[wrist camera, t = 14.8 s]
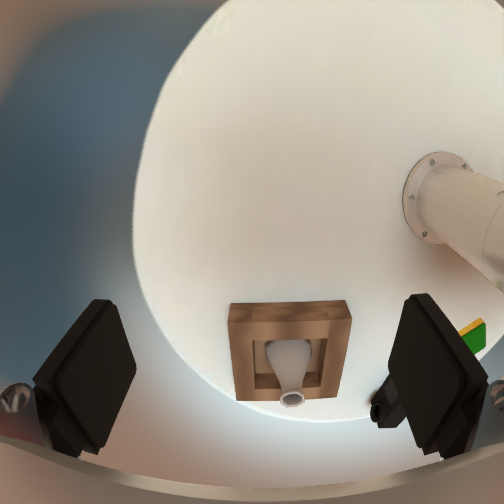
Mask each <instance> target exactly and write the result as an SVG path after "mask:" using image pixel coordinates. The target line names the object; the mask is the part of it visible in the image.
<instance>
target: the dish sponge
mask: <svg viewBox="0 0 504 504" xmlns="http://www.w3.org/2000/svg"><path fill="white" fill-rule="evenodd" d="M458 333H459V334H460V336H461V337H462V338H463V340H464V341H465V343H466V344H467V345H468V347H469V348H470V350H471V351H472V353H473V354H476V353H477V352H479V351H481V350H482V349H483V348H485V346H486V327H485V323H484V322H483V321H482V320H481V318H479V319H477V320H476V321H474V322H472V323H471V324H469V325H468V326H466V327H465V328H463V329H461V330H460V331H458Z"/></svg>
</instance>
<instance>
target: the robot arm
mask: <svg viewBox="0 0 504 504" xmlns="http://www.w3.org/2000/svg"><path fill="white" fill-rule="evenodd" d="M429 162H430V163H429ZM409 196H410V198H409ZM403 208H404V213H405V217H406V220H407V222H408V224H409V226H410V228H411V229H412V231H413V232H414V233H415V234H416V235H417V236H419V237H420V238H421V239H422V240H424V241H426V242H428V243H432V244H444V243H446V244H447V245H448V246H449V247H451V248H452V249H453V250H454V251H456V252H457V253H458V254H459V255H460V256H462V257H463V258H464V259H465V260H466V261H467V262H469V263H470V264H471V265H472V266H473V267H474V268H476V269H477V270H478V271H479V272H480V273H481V274H482V275H484V276H485V277H486V278H487V279H488V280H489V281H490V282H491V283H493V284H494V285H495V286H496V287H497V288H498V289H500V290H501V291H503V292H504V184H503V183H500V182H498V181H495V180H493V179H490V178H487V177H484V176H482V175H479V174H476V173H474V172H473V170H472V169H471V167H470V166H469V164H468V163H467V162H466V161H465V160H464V159H462V158H461V157H459V156H457V155H455V154H452V153H447V152H437V153H433V154H430V155H428V156H426V157H425V158H423V159H422V160H421V161H420V162H419V163H418V164H417V165H416V166H415V167H414V169H413V170H412V171H411V173H410V175H409V177H408V179H407V182H406V186H405V189H404V196H403ZM388 370H389V373H390V375H391V378H392V380H393V383H394V385H395V388H396V390H397V393H398V395H399V398H400V400H401V403H402V406H403V408H404V411H405V414H406V417H407V419H408V422H409V425H410V428H411V430H412V433H413V436H414V439H415V442H416V444H417V446H418V447H419V448H422V450H423V453H424V455H428V454H431V453H435V452H438V451H439V453H440V456H441V458H440V460H439V462H436V463H433V464H429V465H425V466H422V467H418V468H414V469H410V470H406V471H402V472H398V473H393V474H389V475H385V476H380V477H374V478H369V479H363V480H357V481H351V482H344V483H336V484H328V485H318V486H305V487H288V488H238V487H221V486H208V485H198V484H189V483H182V482H175V481H168V480H162V479H156V478H151V477H146V476H140V475H136V474H131V473H127V472H123V471H119V470H115V469H111V468H108V467H104V466H100V465H96V464H94V463H90V462H87V461H83V460H82V458H81V455H80V454H81V452H82V450H84V451H86V452H89V453H92V454H96V455H98V452H99V450H100V448H103V447H104V446H105V444H106V442H107V439H108V437H109V434H110V432H111V429H112V427H113V424H114V422H115V420H116V417H117V415H118V413H119V410H120V408H121V406H122V403H123V401H124V399H125V396H126V394H127V392H128V390H129V387H130V385H131V382H132V380H133V378H134V376H135V374H136V363H135V360H134V357H133V354H132V352H131V349H130V346H129V343H128V340H127V337H126V334H125V331H124V328H123V325H122V322H121V319H120V315H119V313H118V309H117V306H116V305H114V304H113V303H112V302H111V301H110V300H102V299H94V300H93V301H92V302H91V303H90V304H89V306H88V307H87V308H86V309H85V310H84V312H83V313H82V314H81V315H80V317H79V318H78V319H77V320H76V322H75V323H74V324H73V325H72V327H71V328H70V329H69V330H68V332H67V333H66V334H65V336H64V337H63V338H62V339H61V341H60V342H59V344H58V345H57V346H56V347H55V349H54V350H53V351H52V353H51V354H50V355H49V357H48V358H47V359H46V361H45V362H44V363H43V365H42V366H41V368H40V369H39V370H38V372H37V373H36V375H35V376H34V377H33V381H34V383H35V384H36V385H35V387H34V388H32V387H31V386H30V385H29V384H27V383H15V384H12V385H10V386H8V387H7V388H6V389H5V390H4V391H3V392H2V393H1V395H0V504H504V374H503V376H502V378H501V380H496V381H494V382H492V383H491V384H490V385H489V384H488V382H487V381H486V380H487V378H488V375H487V373H486V372H485V370H484V369H483V367H482V366H481V364H480V363H479V361H478V360H477V358H476V357H475V355H474V354H473V353H472V351H471V350H470V348H469V347H468V345H467V344H466V343H465V341H464V340H463V338H462V337H461V336H460V334H459V333H458V332H457V330H456V329H455V328H454V326H453V325H452V323H451V322H450V321H449V320H448V318H447V317H446V316H445V314H444V313H443V312H442V310H441V309H440V308H439V307H438V305H437V304H436V303H435V301H434V300H433V299H432V298H431V296H430V295H429V294H427V293H423V294H412V295H411V296H410V297H409V299H407V300H405V302H404V306H403V310H402V314H401V318H400V322H399V326H398V330H397V333H396V337H395V340H394V344H393V347H392V351H391V354H390V357H389V361H388Z"/></svg>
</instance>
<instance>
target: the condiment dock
mask: <svg viewBox="0 0 504 504" xmlns="http://www.w3.org/2000/svg"><path fill="white" fill-rule="evenodd" d="M227 323H228V332H229V341H230V350H231V359H232V367H233V376H234V384H235V392H236V400H237V401H280V395H281V394H282V389H281V385H280V382H279V380H278V378H277V376H276V374H275V372H274V370H273V369H272V367H271V365H270V364H269V362H268V360H267V357H266V352H265V347H264V345H265V344H266V343H267V342H269V341H270V340H298V339H308V340H309V341H310V342H311V348H312V357H311V360H310V363H309V365H308V368H307V370H306V373H305V376H304V379H303V382H302V390H301V391H302V393H303V394H304V399H305V400H306V399H321V398H333V397H337V393H338V389H339V385H340V380H341V376H342V371H343V366H344V361H345V356H346V351H347V346H348V341H349V335H350V329H351V323H352V317H351V314H350V312H349V309H348V307H347V304H346V302H345V300H339V301H316V302H286V303H231V306H230V311H229V317H228V322H227Z"/></svg>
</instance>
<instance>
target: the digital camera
mask: <svg viewBox="0 0 504 504" xmlns="http://www.w3.org/2000/svg"><path fill="white" fill-rule="evenodd" d="M371 404H372V407H371V411H370V416H371V419H372V421H373V422H377V425H378V428H396V427H397V426H398V425H399V424H400V423H401V422H402V421H403V420H404V418H405V417H406V414H405V411H404V408H403V406H402V403H401V400H400V398H399V395H398V393H397V390H396V388H395V385H394V383H393V380H392V378H391V375H390V374H389V376H388V377H387V379H386V380H385V382H384V383H383V384H382V386H381V387H380V389H379V390H378V392H377V393H376V395H375V396H374V397H373V399H372V400H371Z"/></svg>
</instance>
